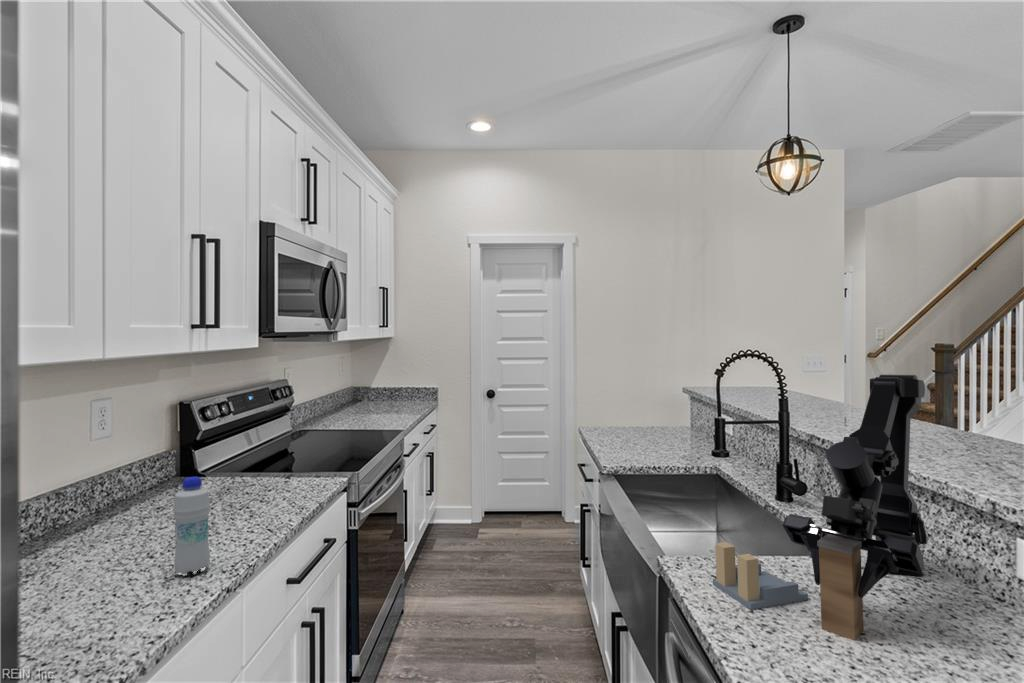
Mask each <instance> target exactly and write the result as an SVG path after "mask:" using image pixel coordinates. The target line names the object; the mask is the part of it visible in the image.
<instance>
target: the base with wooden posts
mask: <svg viewBox="0 0 1024 683" xmlns="http://www.w3.org/2000/svg"><path fill="white" fill-rule="evenodd" d="M736 561H737V562H736ZM715 574H716V575H715V576H716V578H712V585H713V586H715V587H716V588H717V589H719V590H720V591H722V592H723V593H725V594H726V595H728V596H729V597H731V598H732V599H734V600H735V601H737V602H738V603H740V604H742V605H743V606H744V607H745V608H747V609H749V610H751V611H752V610H757V609H758V610H759V609H764V608H768V607H775V606H781V605H786V604H787V605H788V604H791V603H792V602H793V603H797V601H798V602H803V601H802V600H804V601H808V600H809V594H808V593H807V592H805V591H803V590H802V589H799V583H797V582H795V581H785V580H783V579H781V578H779V577H778V576H775V575H774V574H772V573H770V572H768V571H766V570H764V571H763V570H762V564H761V563H760V562H759V558H758V557H755V556H753V555H752V554H751V553H744V554H743V553H742V554H737V555H736V546H735V545H733V544H731V543H729V542H727V541H724V542H717V543H715Z"/></svg>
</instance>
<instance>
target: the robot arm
mask: <svg viewBox="0 0 1024 683" xmlns="http://www.w3.org/2000/svg"><path fill="white" fill-rule="evenodd" d="M925 396H926V385H925V381H924V380H922V379H918V376H917V374H880V375H879V376H876V377H875V378H874V377H872V378H869V396H868V400H867V404H866V406H865V409H864V410H865V411H864V414H863V418H862V420H861V425H860V426H859V429H856V430H855V431H854V432H852V433H850V434H849V435H848V436H844V437H843V438H842V441H839V442H836V443H834V444H832V445H831V446H829V448H828V449H827V450H826V451H825V453H826V454H825V457H826V458H825V459H826V460H827V463H828V464H829V468H830V469H831V471H832V473H833V476H834V478H835V480H836V482H837V483H839V485H841V486H840V490H839V494H838V496H836V497H835V496H831V495H823V500H822V501H823V502H822V507H821V508H822V509H821V516H822V517H826V518H825V524H826V525H827V526H830V529H826V528H822V527H820V526H819V525H816V524H815V522H814V520H813V519H812V518H811V517H807V516H803V515H798V514H793V513H789V514H788V515H787V516H785V517H784V519H783V524H782V527H783V529H784V530H785V532H786V534H787V535H788V537H789V539H790V540H791V542H793V543H794V544H797V545H801V546H803V547H804V546H805V547H806V549H807V551H809V552H810V554H811V561H812V568H813V577H814V582H815V584H816V585H817V586H820V567H819V546H817V541H818V540H820V539H821V538H822V537H824V536H825V535H827V534H831V535H836V536H840V537H845V538H849V539H854V540H858V541H862V547H861V551H866V552H867V554H866V562H865V565H864V569H863V571H862V577H861V581H860V584H859V590H858V595H859V597H861V598H862V599H863V598H864V597H865V595H867V594H868V593H869V591H870V590H872V589H873V587H874V586H875V585H876V584H877V583H878V582H879V581H881V580H882V579H884V578H885V577H886V576H887V575H888V574H895V575H896V574H897V575H907V576H918V577H924V572H923V571H924V564H925V563H924V562H925V561H924V560H925V559H924V555H923V552H922V550H921V547H920V546H921V545H927V544H928V536H927V530H926V527H925V522H924V520H922V517H921V514H920V513H918V510H919V509H918V503H917V502H916V501H915V499H914V497H913V496H912V495H911V493H910V491H909V473H910V472H909V471H910V470H909V469H910V468H909V467H910V441H911V440H910V439H911V419H912V418H913V417H914V415H915V414H916V413H917V412H918V411H919V410H920V408H921V407H922V406H921V405H922V399H923V398H925ZM877 476H878V477H880V479H879V478H877ZM873 536H875V539H873Z"/></svg>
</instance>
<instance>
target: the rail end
mask: <svg viewBox="0 0 1024 683" xmlns="http://www.w3.org/2000/svg"><path fill="white" fill-rule="evenodd" d="M817 546H819V567H820V585H819V590H820V592H819V593H820V618H821V630H824V631H826V630H827V631H826V632H829V631H830V632H829V633H832V634H835V635H837V634H838V636H840V635H841V636H840V637H843V638H847V639H849V640H851V641H854V640H855V641H856V640H857V638H858V637H859V636H860V635H861V633H862V632H863V631H864V628H865V627H864V605H863V604H864V603H863V602H864V601H863V598H861V597H859V595H858V590H859V584H860V581H861V577H862V574H863V571H862V552H861V551H862V550H861V547H862V541H858V540H854V539H849V538H845V537H840V536H836V535H831V534H827V535H825V536H824V537H822V538H821V539H820V540H818V541H817ZM859 634H860V635H859Z"/></svg>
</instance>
